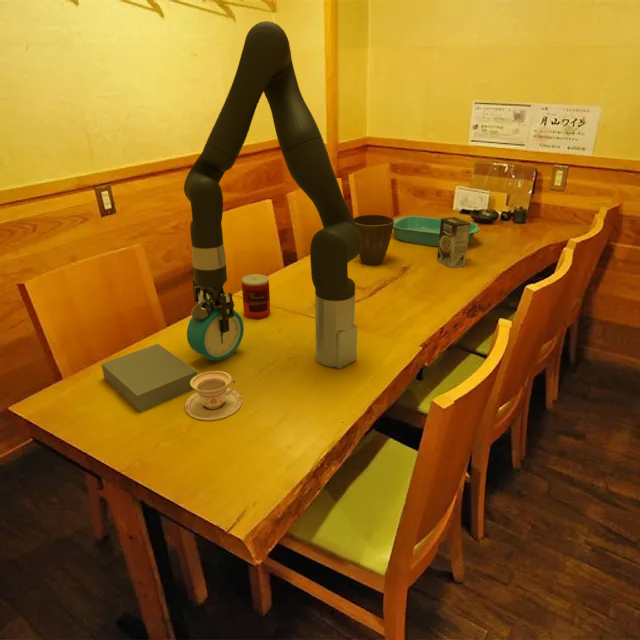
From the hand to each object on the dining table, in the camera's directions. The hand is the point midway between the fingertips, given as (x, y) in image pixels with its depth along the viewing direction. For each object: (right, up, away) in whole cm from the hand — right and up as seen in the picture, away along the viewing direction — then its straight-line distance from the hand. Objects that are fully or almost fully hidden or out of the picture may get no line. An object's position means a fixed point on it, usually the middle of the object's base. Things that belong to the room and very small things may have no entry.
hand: (215, 325), depth 126 cm
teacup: (+3, -17, -16) cm, 23 cm away
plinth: (-13, -13, -8) cm, 20 cm away
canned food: (+7, +3, +25) cm, 26 cm away
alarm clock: (0, -8, +3) cm, 8 cm away
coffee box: (+74, +22, +64) cm, 100 cm away
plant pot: (+45, +23, +65) cm, 82 cm away
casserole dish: (+73, +35, +91) cm, 121 cm away
